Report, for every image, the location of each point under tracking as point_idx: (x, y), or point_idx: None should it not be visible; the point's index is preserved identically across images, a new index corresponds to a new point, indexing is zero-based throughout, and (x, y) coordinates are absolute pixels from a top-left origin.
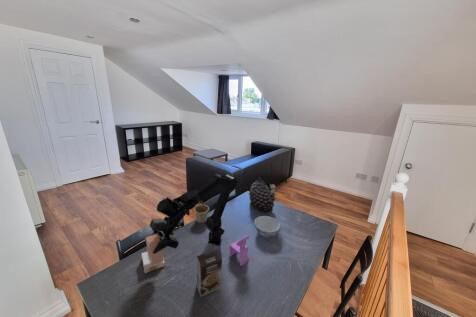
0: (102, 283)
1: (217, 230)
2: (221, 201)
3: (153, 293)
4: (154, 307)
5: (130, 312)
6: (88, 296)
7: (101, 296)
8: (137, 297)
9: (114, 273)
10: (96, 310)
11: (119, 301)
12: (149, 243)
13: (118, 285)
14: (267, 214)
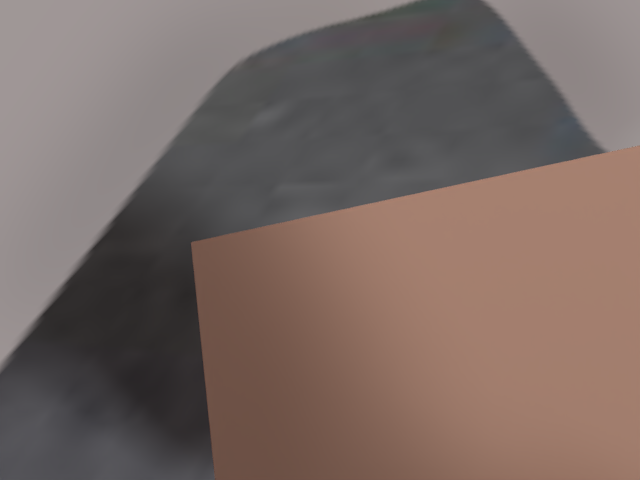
0: (451, 77)
1: None
2: None
3: (144, 437)
4: (2, 426)
5: (90, 248)
6: (371, 23)
7: (334, 83)
8: (187, 299)
9: (528, 139)
10: (238, 70)
11: (228, 181)
12: (251, 230)
13: (383, 170)
14: None
